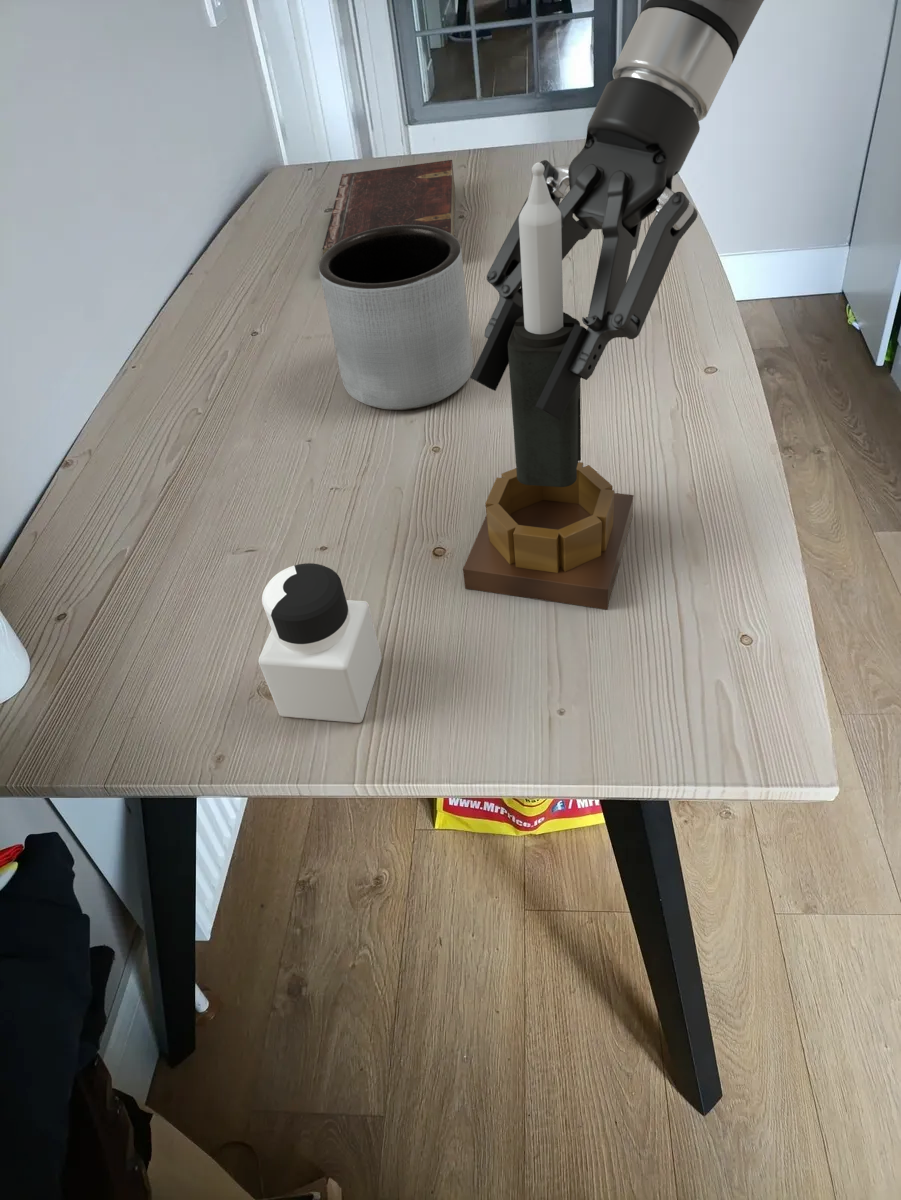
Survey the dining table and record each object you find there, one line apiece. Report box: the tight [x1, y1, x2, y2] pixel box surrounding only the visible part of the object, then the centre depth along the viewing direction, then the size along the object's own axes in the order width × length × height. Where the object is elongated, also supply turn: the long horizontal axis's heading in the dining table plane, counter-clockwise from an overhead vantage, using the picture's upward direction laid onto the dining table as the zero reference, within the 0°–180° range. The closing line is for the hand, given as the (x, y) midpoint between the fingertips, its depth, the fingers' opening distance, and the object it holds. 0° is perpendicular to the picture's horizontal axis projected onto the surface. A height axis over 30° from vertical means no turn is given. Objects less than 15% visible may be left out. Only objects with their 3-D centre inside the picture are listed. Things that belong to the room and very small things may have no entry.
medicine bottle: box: [258, 562, 382, 724], centre depth 69 cm, size 7×7×12 cm
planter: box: [318, 225, 474, 411], centre depth 101 cm, size 16×16×16 cm
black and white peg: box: [508, 161, 582, 487], centre depth 67 cm, size 5×5×25 cm
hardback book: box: [321, 159, 456, 257], centre depth 136 cm, size 29×19×5 cm, turn 0°
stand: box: [462, 461, 635, 610], centre depth 80 cm, size 13×13×6 cm
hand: (514, 398), depth 68 cm, fingers closed on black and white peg, 6 cm apart
